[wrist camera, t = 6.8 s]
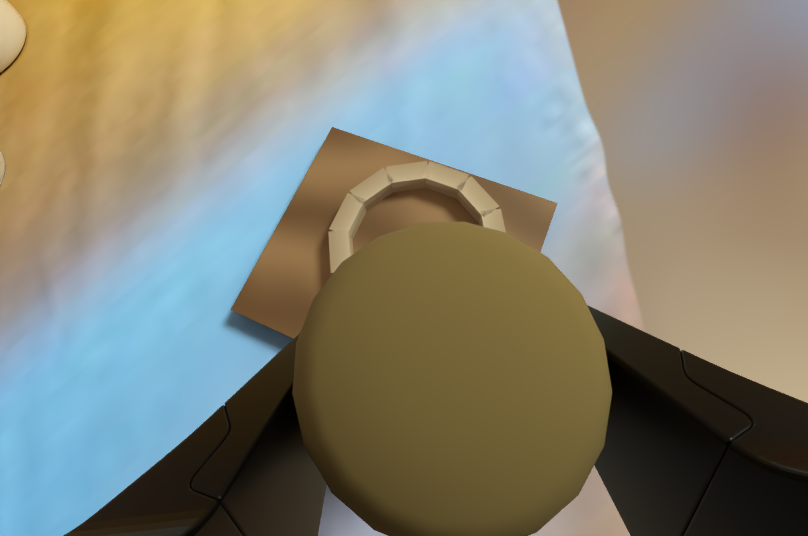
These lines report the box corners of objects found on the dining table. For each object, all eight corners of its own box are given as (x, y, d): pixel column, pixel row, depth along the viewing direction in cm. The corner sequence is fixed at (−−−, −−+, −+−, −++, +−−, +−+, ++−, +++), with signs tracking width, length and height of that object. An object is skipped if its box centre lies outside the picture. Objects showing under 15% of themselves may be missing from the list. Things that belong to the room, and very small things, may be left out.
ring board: (477, 421, 20) (483, 428, 18) (240, 312, 23) (219, 306, 20) (550, 211, 23) (564, 193, 21) (336, 137, 26) (327, 115, 23)
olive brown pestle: (497, 457, 14) (720, 722, 4) (350, 431, 15) (161, 595, 4) (507, 309, 16) (683, 184, 5) (375, 290, 16) (286, 144, 6)
